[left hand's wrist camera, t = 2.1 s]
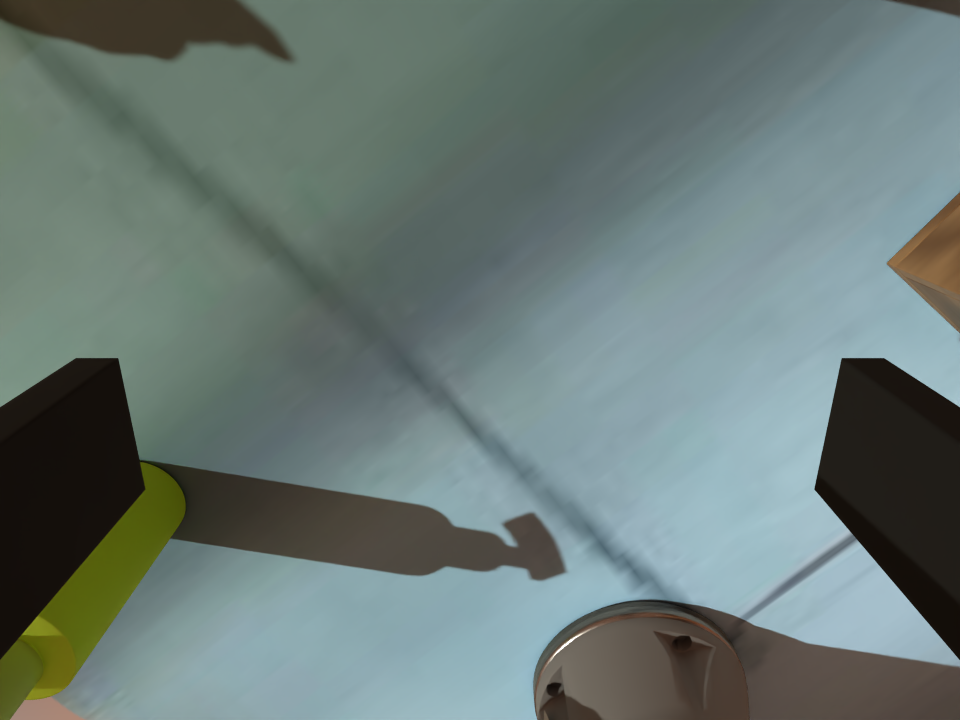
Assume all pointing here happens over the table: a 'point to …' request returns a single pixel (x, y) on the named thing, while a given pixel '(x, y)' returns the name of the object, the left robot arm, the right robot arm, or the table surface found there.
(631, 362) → the table surface
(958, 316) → the cabinet
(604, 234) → the table surface
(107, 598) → the soap dispenser
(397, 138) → the table surface
